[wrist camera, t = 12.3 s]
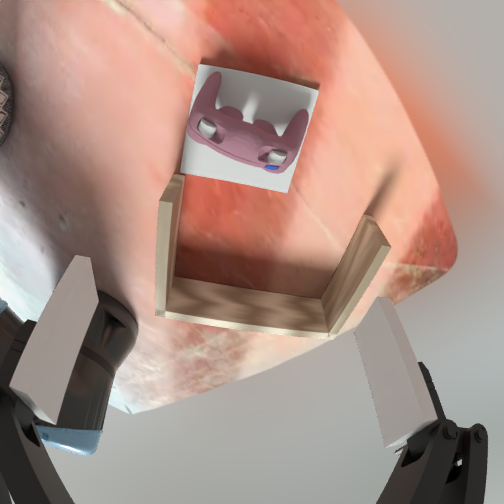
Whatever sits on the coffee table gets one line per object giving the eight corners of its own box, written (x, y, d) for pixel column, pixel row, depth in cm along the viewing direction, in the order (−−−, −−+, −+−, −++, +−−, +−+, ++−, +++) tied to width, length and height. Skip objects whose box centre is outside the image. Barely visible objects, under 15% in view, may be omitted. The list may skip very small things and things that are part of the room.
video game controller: (198, 101, 25) (172, 148, 22) (212, 64, 22) (185, 106, 18) (291, 140, 28) (283, 192, 25) (314, 109, 24) (312, 159, 21)
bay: (164, 281, 38) (155, 315, 33) (173, 173, 29) (159, 200, 24) (325, 306, 41) (333, 339, 37) (372, 216, 32) (391, 247, 28)
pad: (181, 170, 29) (180, 172, 28) (199, 63, 22) (198, 64, 22) (286, 190, 30) (287, 193, 30) (317, 90, 24) (319, 90, 24)
